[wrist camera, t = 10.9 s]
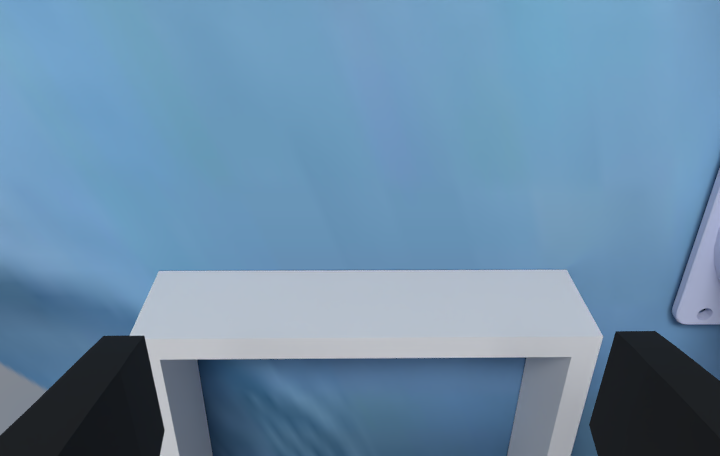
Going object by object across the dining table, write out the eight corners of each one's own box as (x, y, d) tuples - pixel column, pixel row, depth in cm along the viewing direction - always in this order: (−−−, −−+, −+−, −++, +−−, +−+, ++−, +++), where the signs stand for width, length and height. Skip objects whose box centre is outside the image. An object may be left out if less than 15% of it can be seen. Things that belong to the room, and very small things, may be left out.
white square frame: (566, 269, 21) (602, 336, 18) (511, 520, 28) (531, 598, 25) (159, 270, 21) (127, 339, 18) (206, 524, 28) (189, 603, 25)
